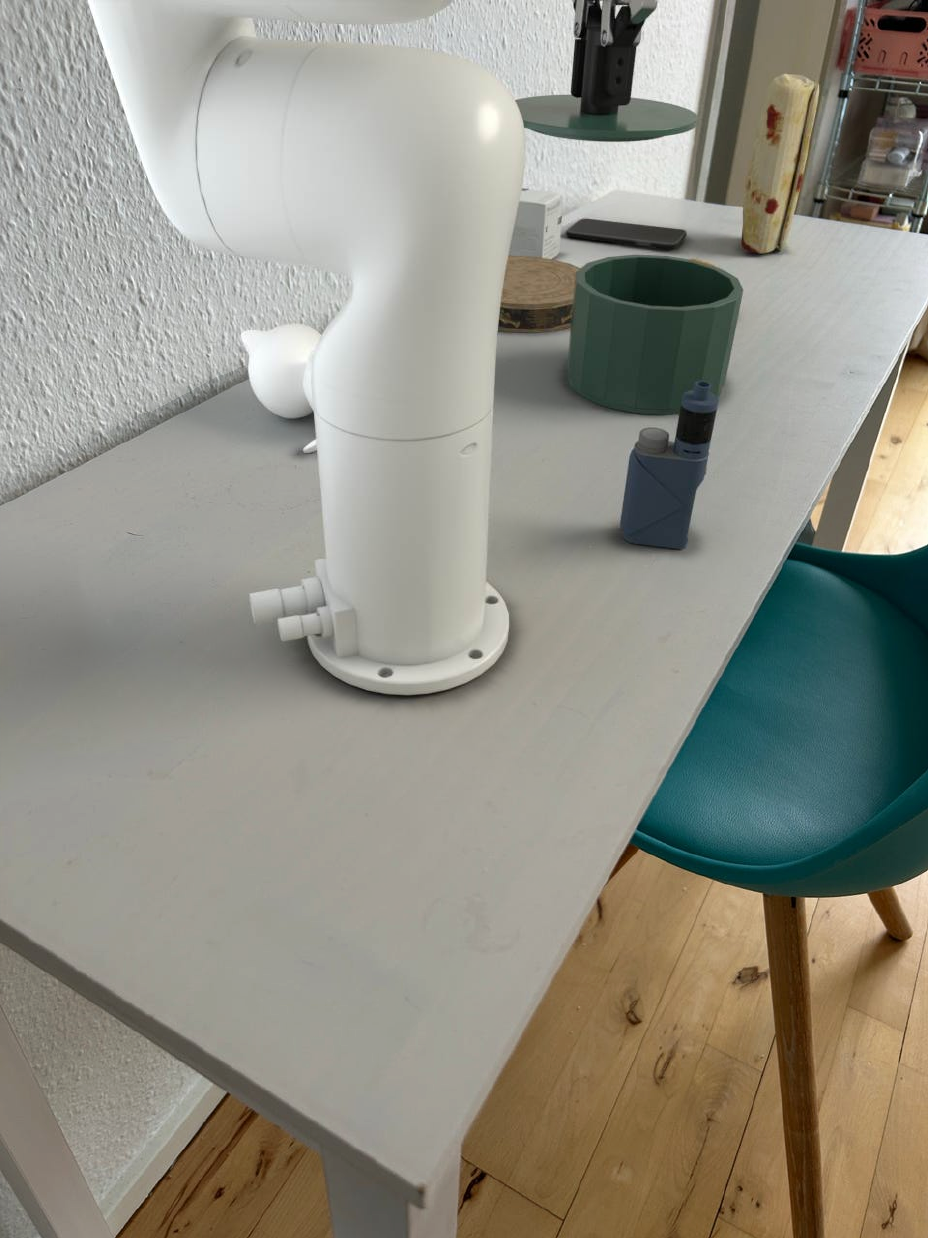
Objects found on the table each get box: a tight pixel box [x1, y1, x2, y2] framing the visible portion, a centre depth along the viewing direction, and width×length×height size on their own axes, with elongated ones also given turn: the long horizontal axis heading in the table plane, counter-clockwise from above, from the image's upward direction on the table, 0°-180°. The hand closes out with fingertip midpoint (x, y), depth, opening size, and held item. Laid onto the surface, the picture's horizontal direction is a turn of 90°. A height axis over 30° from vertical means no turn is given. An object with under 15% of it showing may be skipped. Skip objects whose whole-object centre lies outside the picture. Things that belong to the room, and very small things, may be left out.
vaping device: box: [619, 381, 720, 550], centre depth 65 cm, size 3×5×12 cm, turn 78°
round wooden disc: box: [498, 256, 581, 334], centre depth 105 cm, size 16×16×3 cm
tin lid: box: [515, 27, 699, 143], centre depth 74 cm, size 16×16×7 cm
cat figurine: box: [240, 323, 322, 454], centre depth 80 cm, size 9×11×12 cm
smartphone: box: [566, 218, 687, 251], centre depth 127 cm, size 7×1×15 cm
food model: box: [740, 73, 820, 254], centre depth 118 cm, size 10×7×20 cm
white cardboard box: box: [508, 187, 564, 259], centre depth 117 cm, size 6×6×7 cm
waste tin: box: [566, 254, 744, 416], centre depth 88 cm, size 15×15×10 cm
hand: (599, 98), depth 75 cm, fingers closed on tin lid, 3 cm apart
